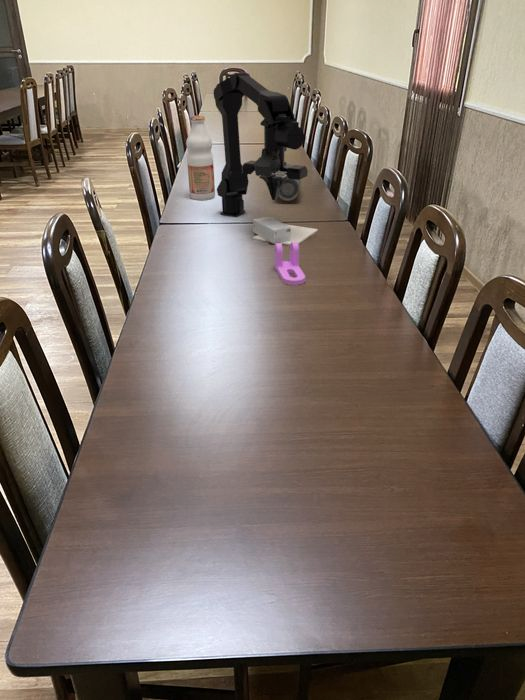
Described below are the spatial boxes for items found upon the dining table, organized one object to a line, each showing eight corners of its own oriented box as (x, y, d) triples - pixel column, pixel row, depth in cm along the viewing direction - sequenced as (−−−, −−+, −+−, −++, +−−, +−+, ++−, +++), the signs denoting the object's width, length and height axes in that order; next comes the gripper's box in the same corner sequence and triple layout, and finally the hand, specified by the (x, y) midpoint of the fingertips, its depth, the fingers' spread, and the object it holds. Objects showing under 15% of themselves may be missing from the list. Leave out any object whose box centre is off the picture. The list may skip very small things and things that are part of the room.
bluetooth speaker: (301, 204, 191) (301, 175, 186) (274, 204, 192) (274, 175, 186) (299, 188, 211) (300, 162, 206) (276, 188, 211) (276, 162, 206)
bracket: (274, 267, 140) (274, 241, 137) (295, 265, 141) (295, 239, 138) (285, 286, 129) (285, 259, 126) (307, 284, 130) (308, 257, 126)
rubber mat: (252, 238, 159) (252, 237, 159) (277, 224, 171) (277, 223, 171) (295, 246, 153) (295, 244, 153) (317, 230, 165) (317, 229, 165)
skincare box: (252, 232, 163) (272, 245, 154) (252, 217, 161) (272, 230, 152) (270, 229, 165) (290, 241, 157) (270, 214, 163) (291, 226, 154)
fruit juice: (184, 197, 201) (178, 116, 187) (204, 192, 206) (199, 113, 192) (200, 202, 195) (195, 118, 181) (220, 197, 200) (216, 116, 186)
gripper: (231, 146, 149) (233, 202, 157) (292, 151, 141) (290, 210, 149) (250, 140, 157) (251, 193, 165) (309, 145, 149) (307, 201, 157)
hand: (274, 199), depth 159 cm, fingers closed
